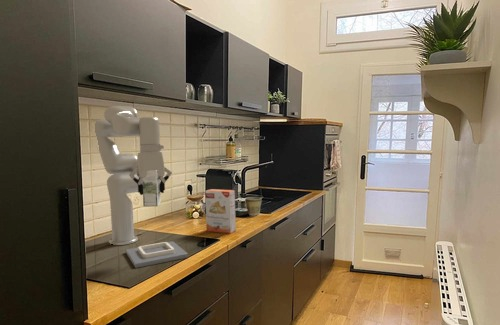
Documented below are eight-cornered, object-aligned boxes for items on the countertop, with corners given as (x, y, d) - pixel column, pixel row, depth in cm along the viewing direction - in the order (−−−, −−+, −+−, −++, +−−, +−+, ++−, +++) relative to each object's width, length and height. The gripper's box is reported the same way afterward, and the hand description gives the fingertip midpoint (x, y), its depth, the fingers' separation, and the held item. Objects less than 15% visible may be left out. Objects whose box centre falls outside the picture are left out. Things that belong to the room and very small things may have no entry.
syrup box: (161, 203, 138) (160, 168, 137) (157, 206, 132) (156, 169, 131) (147, 204, 138) (145, 168, 137) (142, 207, 132) (141, 169, 131)
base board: (125, 253, 141) (125, 245, 141) (173, 244, 151) (172, 237, 151) (135, 268, 124) (135, 259, 124) (188, 257, 134) (188, 249, 134)
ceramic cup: (259, 216, 202) (259, 199, 201) (243, 215, 205) (243, 199, 204) (264, 211, 214) (264, 196, 214) (249, 211, 217) (249, 195, 217)
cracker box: (206, 231, 172) (204, 190, 170) (212, 228, 177) (210, 188, 176) (230, 234, 166) (229, 191, 164) (236, 231, 171) (235, 189, 170)
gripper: (169, 147, 141) (170, 190, 142) (125, 149, 133) (127, 194, 134) (174, 148, 134) (176, 192, 136) (128, 149, 126) (130, 197, 128)
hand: (151, 193), depth 135 cm, fingers closed on syrup box, 7 cm apart
